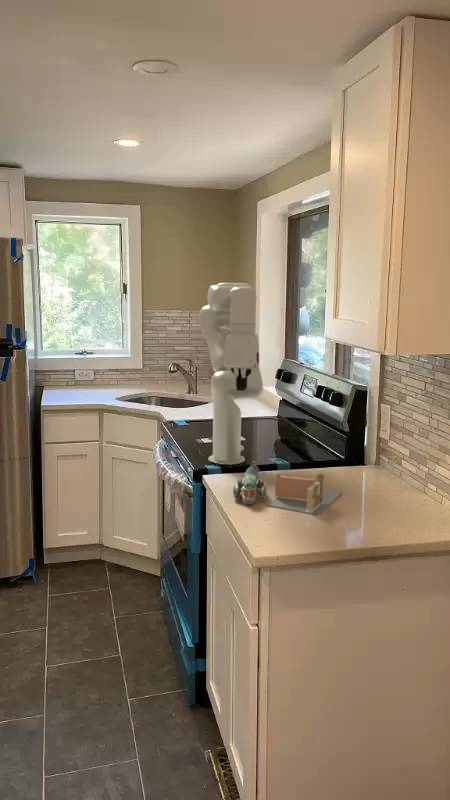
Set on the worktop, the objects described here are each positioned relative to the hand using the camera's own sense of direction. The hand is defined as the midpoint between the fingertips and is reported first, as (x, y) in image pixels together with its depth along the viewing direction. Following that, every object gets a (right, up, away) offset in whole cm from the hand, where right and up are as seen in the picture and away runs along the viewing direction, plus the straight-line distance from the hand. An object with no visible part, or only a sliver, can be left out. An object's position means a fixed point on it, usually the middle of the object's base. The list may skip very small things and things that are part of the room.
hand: (241, 390), depth 194 cm
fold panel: (+15, -31, -10) cm, 36 cm away
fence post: (+20, -33, -16) cm, 42 cm away
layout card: (+18, -32, -9) cm, 38 cm away
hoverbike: (+3, -31, -3) cm, 31 cm away
